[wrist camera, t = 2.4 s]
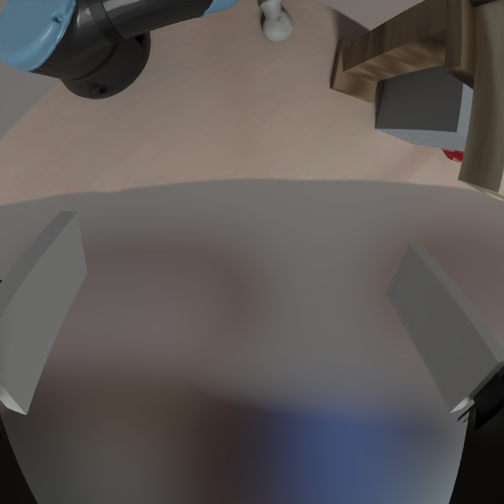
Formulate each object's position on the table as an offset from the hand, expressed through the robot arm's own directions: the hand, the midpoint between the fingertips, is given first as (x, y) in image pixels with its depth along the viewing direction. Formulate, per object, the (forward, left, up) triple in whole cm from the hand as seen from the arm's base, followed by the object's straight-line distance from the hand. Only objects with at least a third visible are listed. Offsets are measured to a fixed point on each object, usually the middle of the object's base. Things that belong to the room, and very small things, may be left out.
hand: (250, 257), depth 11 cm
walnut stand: (+6, +24, -35) cm, 43 cm away
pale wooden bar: (+8, +20, -5) cm, 22 cm away
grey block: (+15, +26, -35) cm, 46 cm away
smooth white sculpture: (-9, +23, -35) cm, 43 cm away
